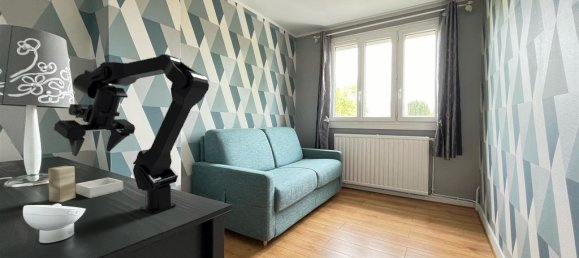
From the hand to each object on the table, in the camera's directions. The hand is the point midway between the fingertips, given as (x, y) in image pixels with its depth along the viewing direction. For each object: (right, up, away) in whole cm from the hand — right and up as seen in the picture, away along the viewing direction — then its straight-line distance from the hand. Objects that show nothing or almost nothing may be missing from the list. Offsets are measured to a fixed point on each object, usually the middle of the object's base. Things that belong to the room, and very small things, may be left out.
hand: (92, 153), depth 72 cm
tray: (-3, -13, +6) cm, 15 cm away
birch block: (-8, -14, -1) cm, 16 cm away
